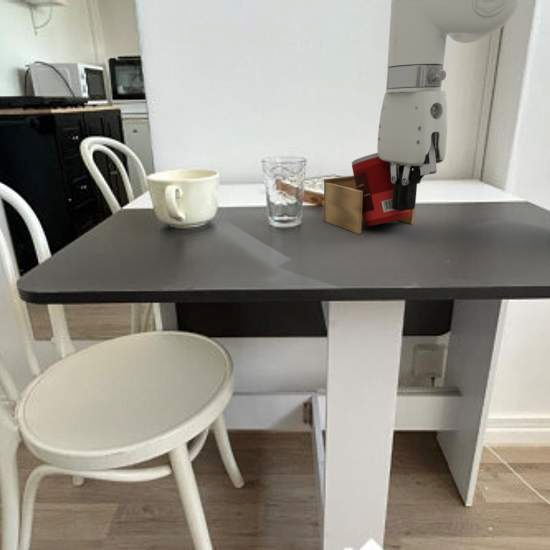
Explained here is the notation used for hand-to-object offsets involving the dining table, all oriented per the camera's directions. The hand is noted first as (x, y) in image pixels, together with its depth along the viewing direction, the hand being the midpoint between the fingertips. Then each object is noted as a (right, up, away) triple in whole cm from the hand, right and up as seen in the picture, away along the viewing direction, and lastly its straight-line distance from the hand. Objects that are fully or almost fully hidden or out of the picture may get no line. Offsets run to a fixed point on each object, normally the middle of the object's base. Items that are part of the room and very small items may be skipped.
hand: (403, 209), depth 68 cm
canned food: (-1, -2, +5) cm, 5 cm away
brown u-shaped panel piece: (-3, -1, +10) cm, 10 cm away
